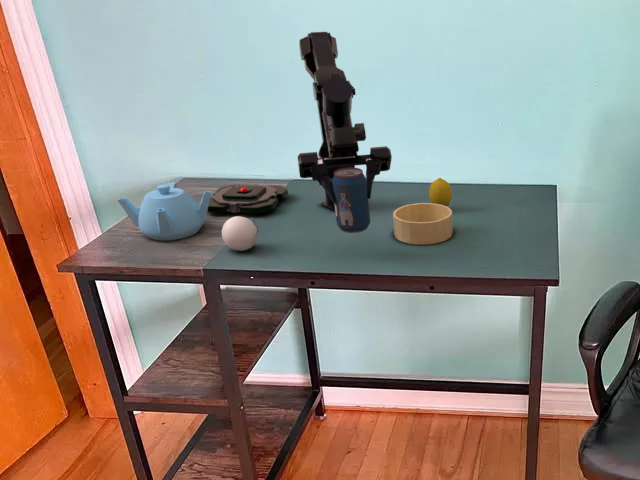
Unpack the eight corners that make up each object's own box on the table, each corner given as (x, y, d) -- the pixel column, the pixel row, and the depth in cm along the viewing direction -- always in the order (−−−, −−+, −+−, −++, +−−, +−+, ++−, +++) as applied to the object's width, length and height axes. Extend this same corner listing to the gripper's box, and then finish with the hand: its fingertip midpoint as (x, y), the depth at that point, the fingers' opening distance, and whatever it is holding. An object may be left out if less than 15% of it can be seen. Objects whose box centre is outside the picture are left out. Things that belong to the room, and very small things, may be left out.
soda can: (367, 220, 154) (362, 165, 147) (373, 232, 148) (368, 174, 142) (335, 224, 152) (328, 168, 146) (339, 235, 146) (333, 178, 140)
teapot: (223, 227, 167) (214, 182, 162) (168, 248, 156) (156, 200, 151) (180, 216, 174) (170, 172, 169) (125, 235, 163) (112, 189, 158)
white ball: (255, 256, 152) (249, 223, 149) (220, 256, 152) (213, 223, 149) (267, 238, 161) (262, 207, 157) (235, 238, 161) (228, 207, 157)
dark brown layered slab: (226, 193, 189) (223, 175, 187) (292, 194, 188) (290, 177, 185) (197, 216, 174) (193, 197, 172) (269, 218, 172) (266, 199, 170)
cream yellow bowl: (383, 233, 163) (381, 212, 161) (428, 219, 171) (427, 199, 168) (418, 249, 155) (416, 227, 152) (464, 234, 162) (464, 213, 160)
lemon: (453, 206, 179) (452, 174, 175) (450, 214, 174) (449, 181, 170) (431, 205, 179) (430, 174, 175) (427, 213, 175) (426, 181, 170)
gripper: (291, 112, 139) (303, 185, 135) (386, 105, 143) (400, 176, 140) (294, 142, 149) (305, 211, 146) (382, 136, 154) (395, 202, 150)
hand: (351, 199), depth 145 cm, fingers closed on soda can, 7 cm apart
